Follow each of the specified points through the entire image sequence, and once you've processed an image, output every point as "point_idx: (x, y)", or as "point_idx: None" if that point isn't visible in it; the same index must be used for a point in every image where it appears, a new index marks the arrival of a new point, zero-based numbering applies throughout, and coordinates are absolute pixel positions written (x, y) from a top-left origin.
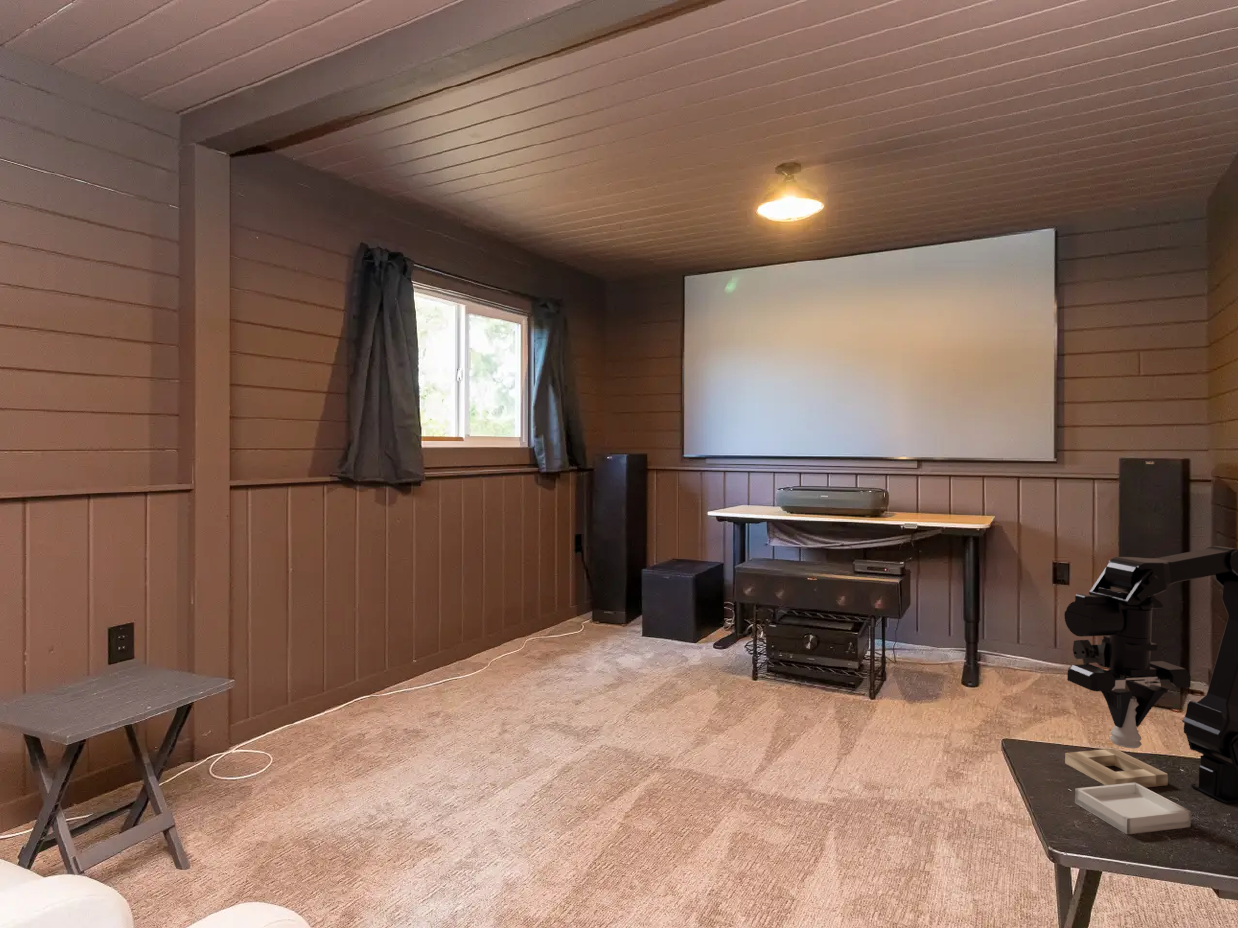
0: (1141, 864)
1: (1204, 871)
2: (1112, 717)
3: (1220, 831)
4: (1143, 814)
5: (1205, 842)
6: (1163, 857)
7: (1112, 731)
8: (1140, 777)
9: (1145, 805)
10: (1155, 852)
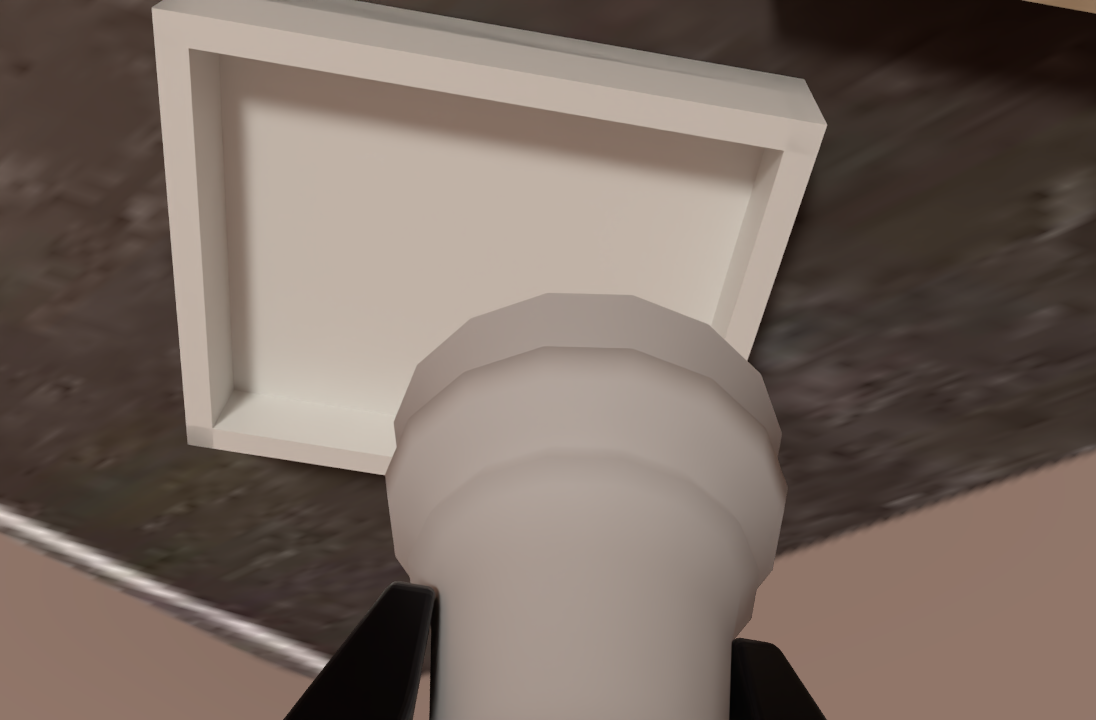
0: (68, 547)
1: (313, 651)
2: (314, 683)
3: (788, 527)
4: (344, 449)
5: None
6: (229, 551)
7: (426, 447)
8: (1083, 7)
9: (624, 277)
10: (228, 519)
